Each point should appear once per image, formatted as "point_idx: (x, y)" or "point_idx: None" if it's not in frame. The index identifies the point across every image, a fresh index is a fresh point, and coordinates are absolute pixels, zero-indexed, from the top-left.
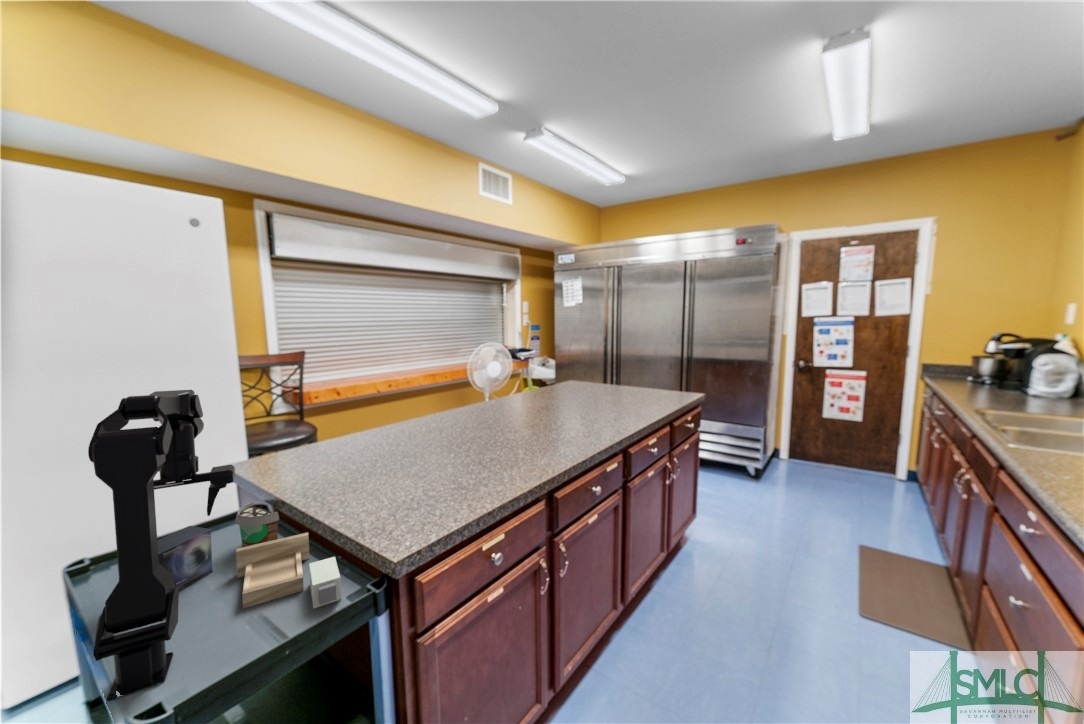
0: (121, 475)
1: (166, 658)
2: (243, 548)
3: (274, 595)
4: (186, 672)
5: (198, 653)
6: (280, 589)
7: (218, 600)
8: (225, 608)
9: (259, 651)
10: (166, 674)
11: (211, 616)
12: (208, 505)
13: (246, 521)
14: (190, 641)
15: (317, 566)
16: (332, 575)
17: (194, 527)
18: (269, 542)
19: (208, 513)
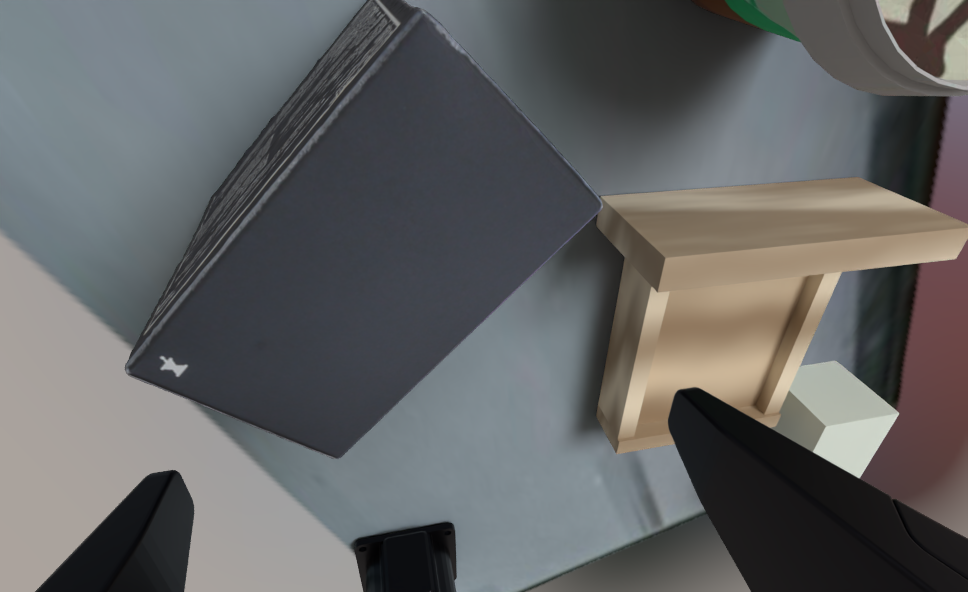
0: None
1: (445, 541)
2: (693, 269)
3: None
4: (487, 559)
5: (502, 525)
6: None
7: (533, 352)
8: (553, 399)
9: (609, 543)
10: (455, 570)
11: (518, 420)
12: (754, 575)
13: (842, 48)
14: (480, 491)
15: (832, 450)
16: None
17: (477, 107)
18: (805, 259)
19: (690, 459)
